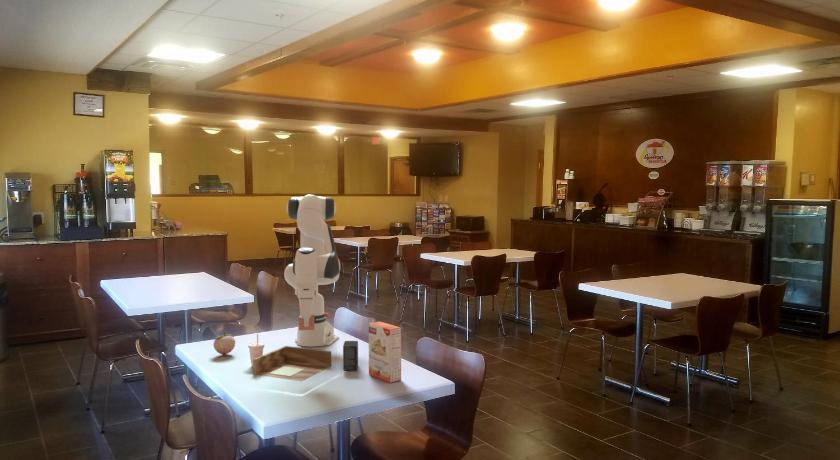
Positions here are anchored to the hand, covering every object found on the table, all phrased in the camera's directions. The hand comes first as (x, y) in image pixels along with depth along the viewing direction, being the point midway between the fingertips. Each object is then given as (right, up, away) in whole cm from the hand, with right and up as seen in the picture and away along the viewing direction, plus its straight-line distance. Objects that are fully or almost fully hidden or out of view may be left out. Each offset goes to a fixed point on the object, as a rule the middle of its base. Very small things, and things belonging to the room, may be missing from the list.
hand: (306, 324), depth 232 cm
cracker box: (+31, -21, -1) cm, 37 cm away
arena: (-6, -20, +6) cm, 22 cm away
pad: (-8, -19, +4) cm, 21 cm away
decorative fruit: (-41, -18, +29) cm, 54 cm away
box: (+16, -20, +11) cm, 28 cm away
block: (0, -2, 0) cm, 2 cm away
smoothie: (-23, -20, +11) cm, 32 cm away
